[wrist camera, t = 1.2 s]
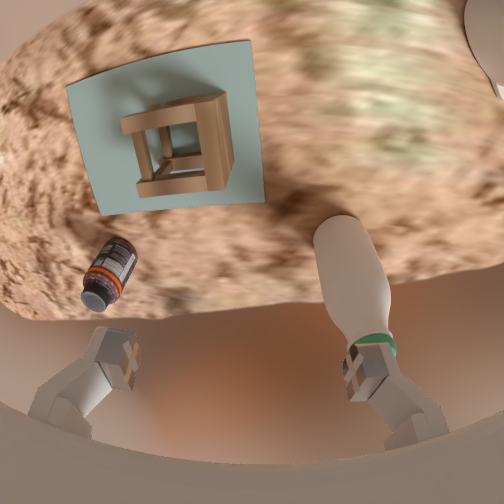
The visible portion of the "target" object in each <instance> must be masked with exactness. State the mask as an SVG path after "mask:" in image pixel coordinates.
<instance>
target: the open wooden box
mask: <svg viewBox="0 0 504 504" xmlns="http://www.w3.org/2000/svg"><path fill="white" fill-rule="evenodd" d="M147 108H148V110H147V111H143V112H139V113H135V114H131V115H127V116H125V117H123V118H121V119H120V122H121V127H122V131H123V135H124V134H128V133H131V135H132V139H133V144H134V148H135V152H136V157H137V161H138V165H139V169H140V173H141V177H142V178H141V179H140V180H139V181H138V182H137V183H136V188H137V191H138V195H139V198H146V197H155V196H164V195H174V194H184V193H195V192H206V191H219V190H225V188H226V185H227V182H228V179H229V176H230V173H231V170H232V167H233V164H234V161H235V160H234V152H233V144H232V136H231V127H230V119H229V110H228V102H227V93H226V92H222V93H214V94H207V95H200V96H193V97H187V98H181V99H176V100H170V101H165V102H160V103H155V104H152V105H149V106H147ZM194 121H197V128H198V134H199V140H200V147H201V151H199V152H191V153H183V154H176V155H174V150H173V145H172V140H171V134H170V129H169V125H175V124H181V123H187V122H194ZM152 128H158V131H159V136H160V141H161V146H162V151H163V155H164V156H162V157H161V158H160V159H159V160H158V163H159V168H158V169H157V170H156V171H155V172H154V170H153V165H152V161H151V156H150V152H149V147H148V143H147V138H146V133H145V130H147V129H152ZM198 168H204V170H199V171H190V172H181V173H172V174H170V173H171V172H172V171H180V170H189V169H198Z"/></svg>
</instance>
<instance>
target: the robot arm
mask: <svg viewBox="0 0 504 504" xmlns="http://www.w3.org/2000/svg"><path fill="white" fill-rule="evenodd" d="M464 24H465V30H466V35H467V38H468V42H469V45H470V47H471V50H472V52H473V54H474V56H475V58H476V60H477V61H478V63H479V65H480V66H481V68H482V69H483V70H484V72H485V73H486V74H487V75H488V77H489V78H490V80H491V83H492V85H493V88H494V91H495V93H496V95H497V97H498V98H499V99H501V100H504V0H468V1H467V3H466V6H465V12H464ZM136 339H137V337H136V334H135V332H129V331H124V330H118V329H113V328H108V327H103V326H98V327H97V328H96V329H95V331H94V333H93V335H92V337H91V340H90V342H89V344H88V346H87V348H86V351H85V353H84V355H83V358H78V359H77V360H75V361H74V362H73V363H71V364H70V365H69V366H67V367H66V368H65V369H63V370H62V371H60V372H59V373H58V374H56V375H55V376H54V377H52V378H51V379H50V380H48V381H47V382H46V383H44V384H43V385H42V386H41V387H39V388H38V390H37V392H36V395H35V397H34V400H33V402H32V405H31V407H30V410H29V413H28V415H26V414H24V413H22V412H19V411H17V410H15V409H13V408H11V407H9V406H7V405H5V404H4V403H2V402H0V504H504V411H500V412H498V413H496V414H493V415H491V416H489V417H487V418H485V419H482V420H480V421H478V422H476V423H473V424H471V425H468V426H466V427H463V428H461V429H458V430H455V431H452V432H449V429H448V426H447V423H446V420H445V417H444V414H443V411H442V409H441V406H440V405H438V404H437V403H436V402H435V401H434V400H433V399H432V398H430V397H429V396H428V395H427V394H426V393H425V392H424V391H423V390H421V389H420V388H419V387H418V386H417V385H416V384H414V383H413V382H412V381H411V380H410V379H409V378H408V377H407V376H405V375H401V373H400V370H399V367H398V365H397V362H396V360H395V357H394V354H393V351H392V349H391V346H390V344H389V343H388V342H385V343H364V344H353V345H352V346H351V347H350V349H349V351H350V354H349V355H347V356H346V357H345V359H344V361H343V365H342V373H343V378H344V380H345V381H347V382H348V384H347V387H346V392H347V396H348V401H349V402H355V401H366V400H368V403H369V404H370V405H371V406H372V407H373V409H374V410H375V411H376V412H377V413H378V414H379V416H380V417H381V418H382V419H383V420H384V422H385V423H386V424H387V425H388V426H389V427H390V429H391V430H392V431H393V432H392V433H391V434H390V435H389V436H387V437H386V438H385V439H384V446H385V451H384V452H378V453H373V454H368V455H363V456H357V457H351V458H344V459H337V460H329V461H320V462H309V463H295V464H265V465H264V464H261V465H260V464H259V465H258V464H257V465H255V464H226V463H212V462H201V461H192V460H184V459H176V458H170V457H164V456H158V455H152V454H147V453H142V452H138V451H133V450H129V449H124V448H120V447H116V446H112V445H109V444H105V443H102V442H98V441H95V440H91V437H92V433H93V427H92V426H91V425H90V424H89V422H88V421H87V420H86V419H85V418H84V417H85V416H86V415H87V414H88V413H89V412H90V411H91V410H92V409H93V408H94V407H95V406H96V405H97V404H98V403H99V402H100V401H101V400H102V399H103V398H104V397H105V396H106V395H107V394H108V393H109V392H110V391H111V390H112V388H114V389H120V390H125V391H131V392H132V390H133V387H134V383H135V379H136V376H135V374H134V371H136V370H137V369H138V368H139V364H140V358H141V351H140V347H139V345H138V344H137V343H136Z"/></svg>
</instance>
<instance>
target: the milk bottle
mask: <svg viewBox="0 0 504 504" xmlns="http://www.w3.org/2000/svg"><path fill="white" fill-rule="evenodd" d="M313 245H314V252H315V257H316V262H317V268H318V273H319V278H320V283H321V289H322V294H323V298H324V302H325V305H326V308H327V311H328V313H329V315H330V317H331V319H332V320H333V321H334V323H335V324H336V325H337V326H338V327H339V329H340V330H341V331H342V332H343V333H344V335H345V337H346V339H347V341H348V345H347V351H348V355H349V354H350V351H349V349H350V347H351V346H352V345H353V344H364V343H385V342H388V343H389V344H390V346H391V349H392V351H393V354H394V357H396V346H395V343H394V340H393V339H392V338H393V337H392V334H391V332H390V331H388V315H389V310H390V304H391V293H390V287H389V283H388V280H387V277H386V274H385V271H384V269H383V266H382V264H381V262H380V259H379V257H378V255H377V252H376V250H375V248H374V246H373V244H372V241H371V239H370V237H369V235H368V233H367V231H366V229H365V227H364V225H363V224H362V223H361V222H360V221H359V220H358V219H356V218H354V217H351V216H347V215H337V216H333V217H330V218H328V219H327V220H325V221H324V222H323V223H321V224H320V226H319V227H318V228H317V230H316V232H315V234H314V237H313Z"/></svg>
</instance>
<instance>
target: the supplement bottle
mask: <svg viewBox="0 0 504 504" xmlns="http://www.w3.org/2000/svg"><path fill="white" fill-rule="evenodd" d="M137 258H138V257H137V253H136V250H135V249H134V247H133V246H132V245H131V244H130V243H129V242H127V241H125V240H123V239H118V238H115V239H111V240H109V241H108V242H107V243H106V244H105V246H104V247H103V249H102V250H101V251H100V253H99V254H98V256H97V257H96V259H95V260H94V262H93V263H92V265H91V266H90V268H89V269H88V271H87V272H86V274H85V276H84V279H83V286H84V290H83V292H82V294H81V300H82V302H83V303H84V305H85V306H87V307H88V308H89V309H91V310H92V311H95V312H103V311H105V309H106V307H107V306H108V304H112V303H114V302H116V301H117V300H118V298H119V296H120V294H121V293H122V290H123V288H124V286H125V284H126V282H127V280H128V278H129V276H130V275H131V273H132V271H133V269H134V267H135V265H136V262H137Z"/></svg>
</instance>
